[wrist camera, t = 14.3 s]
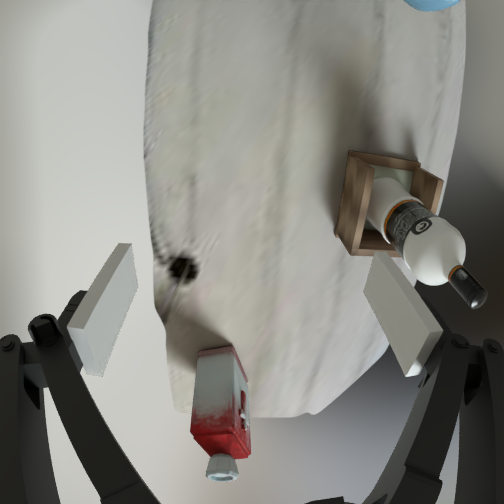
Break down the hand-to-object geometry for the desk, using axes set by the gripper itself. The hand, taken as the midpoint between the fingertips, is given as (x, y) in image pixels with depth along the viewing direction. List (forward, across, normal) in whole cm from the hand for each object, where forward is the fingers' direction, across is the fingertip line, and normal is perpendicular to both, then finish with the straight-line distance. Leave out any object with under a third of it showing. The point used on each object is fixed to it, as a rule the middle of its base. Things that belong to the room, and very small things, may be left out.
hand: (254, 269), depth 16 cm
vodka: (+36, +25, -7) cm, 44 cm away
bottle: (+37, -3, -51) cm, 63 cm away
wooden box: (+37, +25, -7) cm, 45 cm away
